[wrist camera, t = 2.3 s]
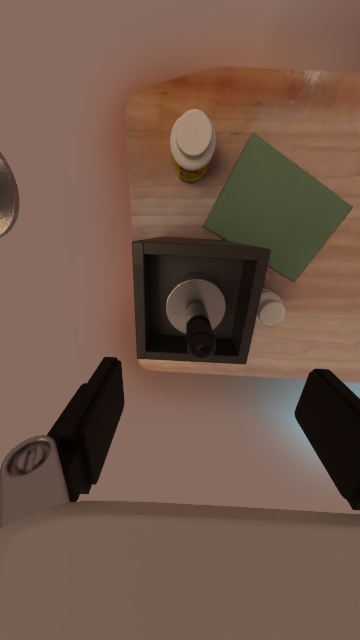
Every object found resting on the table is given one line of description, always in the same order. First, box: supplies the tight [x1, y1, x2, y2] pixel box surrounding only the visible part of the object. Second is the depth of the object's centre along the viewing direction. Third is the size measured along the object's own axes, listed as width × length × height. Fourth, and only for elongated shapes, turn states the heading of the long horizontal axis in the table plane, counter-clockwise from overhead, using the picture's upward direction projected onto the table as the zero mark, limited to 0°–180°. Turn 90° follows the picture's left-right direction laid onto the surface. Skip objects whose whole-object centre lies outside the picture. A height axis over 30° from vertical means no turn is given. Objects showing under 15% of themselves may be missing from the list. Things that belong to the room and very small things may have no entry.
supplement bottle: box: [170, 109, 216, 183], centre depth 26 cm, size 6×6×10 cm
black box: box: [132, 237, 271, 364], centre depth 29 cm, size 12×12×20 cm
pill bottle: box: [256, 286, 286, 326], centre depth 35 cm, size 5×5×10 cm
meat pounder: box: [166, 272, 226, 360], centre depth 18 cm, size 6×6×12 cm
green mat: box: [203, 133, 353, 282], centre depth 34 cm, size 20×14×1 cm
